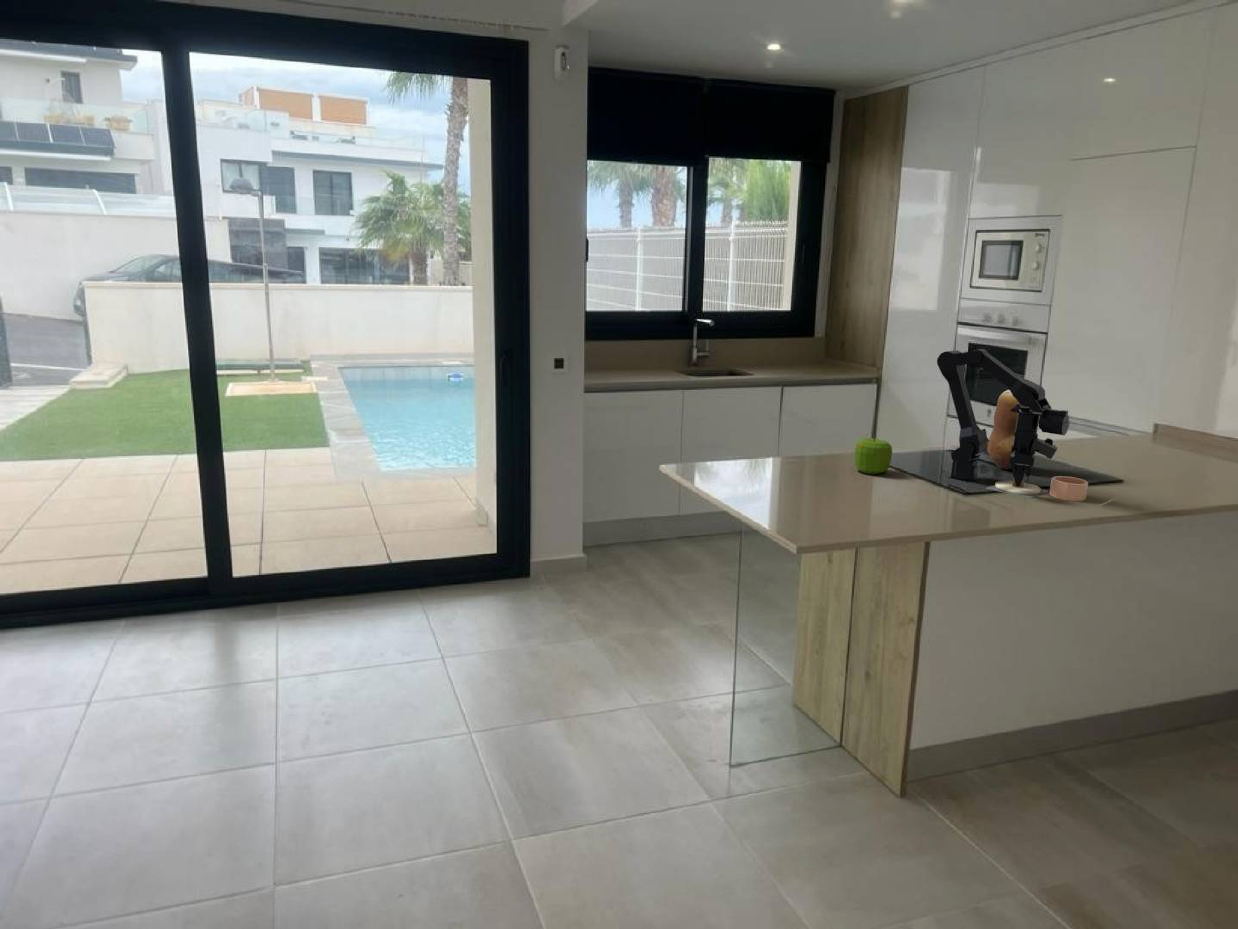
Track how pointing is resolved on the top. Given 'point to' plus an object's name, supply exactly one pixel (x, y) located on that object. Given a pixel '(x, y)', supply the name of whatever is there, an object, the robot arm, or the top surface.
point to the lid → (1017, 487)
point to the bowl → (1068, 488)
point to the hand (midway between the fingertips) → (1018, 482)
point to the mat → (1017, 494)
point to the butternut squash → (1003, 431)
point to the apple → (872, 455)
